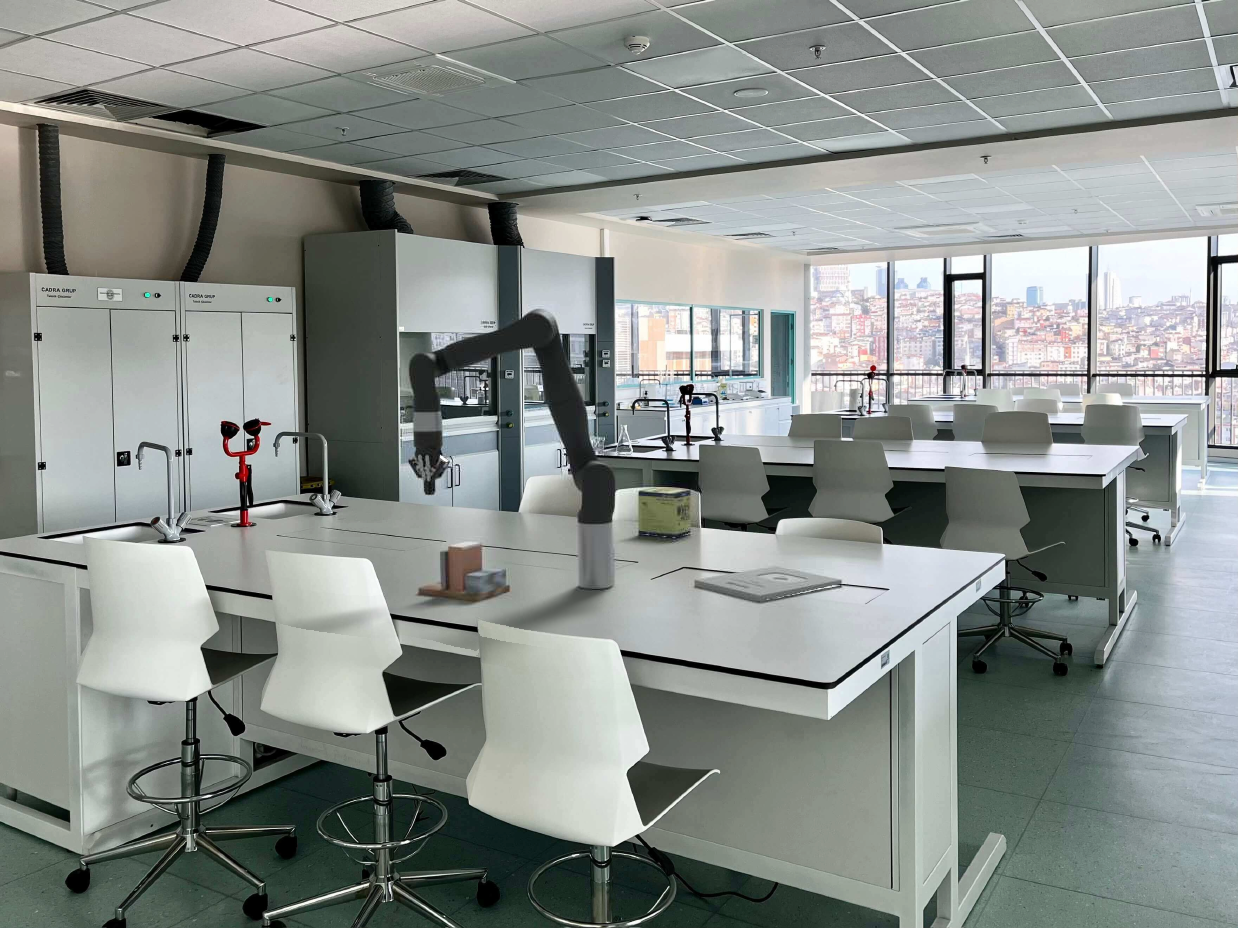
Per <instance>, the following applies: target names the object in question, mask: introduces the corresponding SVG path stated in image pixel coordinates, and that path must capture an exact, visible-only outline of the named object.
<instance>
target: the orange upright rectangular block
mask: <svg viewBox="0 0 1238 928" xmlns="http://www.w3.org/2000/svg"><path fill="white" fill-rule="evenodd" d="M482 546H483V543H482V542H476V541H463V542H459V543H455V544H451V545H448V548H447V550H448V556H449V589H454V590H462V591H463V590H465V575H467V574H471V573H474V572H478V571H482V570H483V547H482Z"/></svg>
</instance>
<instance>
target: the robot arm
mask: <svg viewBox="0 0 1238 928" xmlns="http://www.w3.org/2000/svg"><path fill="white" fill-rule="evenodd" d="M528 349H532V350H533V352H534V354H535V356H536V358H537V361H538V363H539V364H538V365H539V368H540V372H541V373H540V374H541V380H542V381H541V382H542V388H543V393H544V397H545V401H546V405H547V407H548V410H549V413H550V415H551V418H552V420H553V422H554V425H555V428H556V430H557V432H558V435H559V437H560V440H561V442H562V445H563V448H564V449H565V454H566V456H567V460H568V463H569V468H570V472H571V476H572V479H573V482H574V485H575V487H576V488H577V490H578V491H579V492H581V507H580V509H579V510H578V512H577V557H578V558H577V559H578V560H577V561H578V562H577V563H578V567H577V568H578V569H577V570H578V587H579V588H581V589H582V588H583V589H591V590H599V589H600V590H601V589H607V588H612V587H613V586H614V584H615V549H614V548H613V547H614V542H613V539H614V537H613V536H614V533H613V532H614V531H613V516H614V513H615V508H616V477H615V473H614V470H613V469H612V468H611V467H610V466H609V465H608V464H606V463H604V462H601V461H600V460H599V459H598V457H597V454H596V452H595V449H594V447H593V445H592V444H593V443H592V441H591V438H590V437H591V436H590V428H589V426H590V424H589V416H588V411H587V407H586V404H585V401H584V398H583V396H582V393H581V390H580V388H579V385H578V383H577V379H576V378H575V375H574V373H573V371H572V368H571V366H570V364H569V362H568V360H567V357H566V353H565V350H564V347H563V342H562V339H561V335H560V330H559V325H558V322H557V319H556V318H555V316H554V315H553V314H552V313H551V312H550V311H548V310H546V309H544V308H536V309H535V308H534V309H532V310H531V311H529V312H527V313H526V314H524V315H523V316H522V317H521V318H519V319H517V320H515V321H514V322H512V323H510V324H508V325H506V326H504V327H501V328H498V329H496V330H494V331H489V332H485V333H481V334H476V335H473V336H469V337H466V338H463V339H459V340H457V341H454V342H452V343H448V344H447V345H446V346H445V347H444V348H441V349H438V350H434V351H431V352H418V353H415V354H414V355H413V356H412V357H411V358H410V360H409V363H408V364H409V365H408V376H409V381H410V386H411V391H412V394H413V400H412V401H413V417H412V418H413V419H412V423H413V424H412V428H413V432H412V433H413V437H412V438H413V447H414V448H415V451H414V455H413V457H412V458H409V459H407V462H408V464H409V466H410V467H411V469H412V470H413V472H414V474H415V476H416V478H417V479H421V480H422V482H423V492H424V494H425V496H434V495H435V493H436V480H438V479H440V478H442V477H443V476H444V473H445V472H446V470H447V468H448V466H449V465H450V463H451V461H450V460H449V459H445V458H444V455H443V451H442V447H443V445H444V442H443V439H444V438H443V418H442V417H443V416H442V410H441V409H442V405H441V404H442V402H441V393H440V391H438V389H437V387H436V386H437V385H436V379H437V378H440V377H444V376H445V375H447V374H450V373H452V372H454V371H457V370H461V369H465V368H467V367H470V366H475V365H476V364H480V363H482V362H485V361H487V360H490V359H491V358H494V357H497V356H500V355H503V354H506V353H512V352H515V351H520V350H528Z"/></svg>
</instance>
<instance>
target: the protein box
mask: <svg viewBox="0 0 1238 928" xmlns="http://www.w3.org/2000/svg"><path fill="white" fill-rule="evenodd" d="M637 493H638V494H637V495H638V496H637V497H638V504H637V505H638V510H637V511H638V518H637V519H638V520H637V521H638V524H637V525H638V528H637V529H638V534H649V535H657V536H666V537H675V538H674V539H677V538H676V537H679V538H681V537H680V536H683V535H685V534H688V533H690V532H691V531H692V530H691V529H692V528H691V527H692V526H691V520H692V519H691V513H692V512H691V511H692V510H691V505H692V503H691V497H692V496H691V495H692V493H691V489H690V490H689V489H677V488H675V489H674V488H673V489H671V488H660V487H653V488H648V489H643V490H642V489H641V490H638V492H637ZM683 537H684V536H683Z"/></svg>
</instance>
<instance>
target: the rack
mask: <svg viewBox="0 0 1238 928" xmlns="http://www.w3.org/2000/svg"><path fill="white" fill-rule="evenodd" d="M510 591H511V586H510V584H507V569H506V568H497V567H490V568H486V569H482V571H478V572H474V573H471V574H467V575H465V590H463V591H462V590H454V589H449V588H446V589H444V588H441V581H438V582H435V583H431V584H427V585H423V586H419V587H418V592H417V593H418V594H419V595H420V594H421V595H428V596H433V597H434V596H435V597H442V598H446V599H447V598H448V599H449V598H450V599H454V600H463V601H470V602H477V601H478V602H479V601H481V600H484V599H489V598H491V597H495V596H498V595H501V594H504V593H507V592H510Z"/></svg>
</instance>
